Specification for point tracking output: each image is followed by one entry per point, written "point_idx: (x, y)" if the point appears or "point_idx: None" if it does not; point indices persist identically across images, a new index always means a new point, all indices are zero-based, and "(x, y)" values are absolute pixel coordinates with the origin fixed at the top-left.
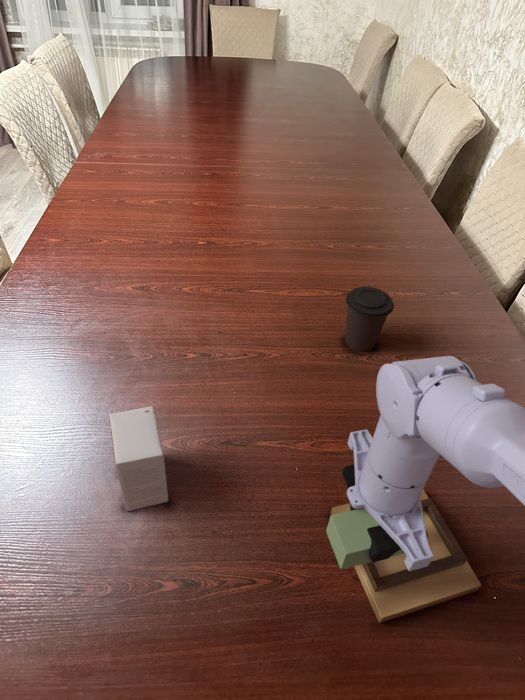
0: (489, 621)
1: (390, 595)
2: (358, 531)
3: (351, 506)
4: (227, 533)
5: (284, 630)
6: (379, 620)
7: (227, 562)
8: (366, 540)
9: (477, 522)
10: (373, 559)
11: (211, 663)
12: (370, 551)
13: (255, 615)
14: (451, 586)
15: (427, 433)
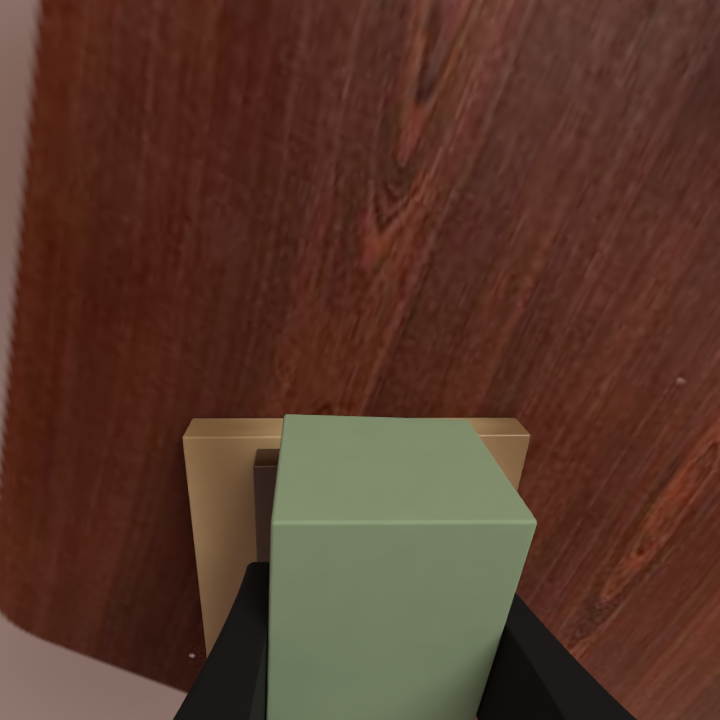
0: (144, 629)
1: (236, 481)
2: (382, 617)
3: (526, 631)
4: (619, 62)
5: (237, 137)
6: (191, 424)
7: (524, 16)
8: (318, 636)
9: None
10: (237, 596)
11: None
12: (255, 629)
13: (312, 49)
14: (221, 612)
15: None
